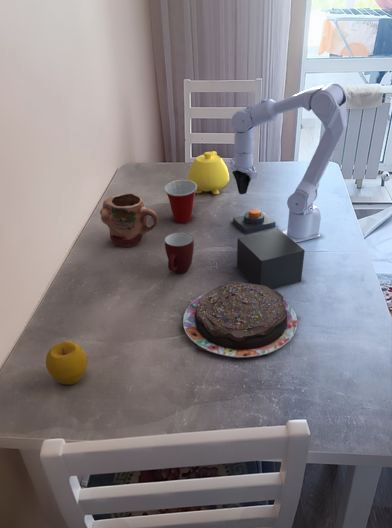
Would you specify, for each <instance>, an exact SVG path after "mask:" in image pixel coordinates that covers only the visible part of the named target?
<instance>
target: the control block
mask: <svg viewBox="0 0 392 528" xmlns="http://www.w3.org/2000/svg"><path fill="white" fill-rule="evenodd" d="M232 223H233V224H234V225H235V226H236V227H237V228H238V229H240V230H241V231H242V232H243V233H244V234H249V233H255V232H259V231H263V230H267V229H271V228H276V224H277V223H276V221H275V220H274V219H272V218H271V217H270V216H269V215H267V214H266V213H265V212H263V211H260V217H257V218H252V217H249V210H248V211H246V212H245V213H244V215H240V216H235V217H232Z"/></svg>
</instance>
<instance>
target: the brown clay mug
mask: <svg viewBox="0 0 392 528" xmlns="http://www.w3.org/2000/svg"><path fill="white" fill-rule="evenodd" d="M102 202H103V203H102V208H101V209H100V210H99V214H100V220H101V222H102V223H103V224H104V225H105V226H107V227H108V230H109V239H110V241H111V243H112V244H113V245H115V246H116V247H119V248H132V247H134V246H136V245H138V244H140V242H141V241H142V239H143V236H144V235H146V234H147V233H150V232H151V231H152V230H153V229H155V228H156V227H158V223H159V217H158V215H157V213H156V212H155V211H154V210H152V209H151V208H147V207H146V206H145V203H144V202H145V201H144V200H143V199H142V198H141V196H139V195H136V194H134V193H124V194H122V193H121V194H118V195H113V196H109V197H108V198H106V199H104V201H102ZM149 217H150V218H152V220H153V224H152V225H151V226H148V225H147V221H148V219H149Z"/></svg>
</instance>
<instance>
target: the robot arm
mask: <svg viewBox="0 0 392 528" xmlns="http://www.w3.org/2000/svg"><path fill="white" fill-rule="evenodd" d="M347 103H348V96H347V93H346V92H345V90H344V88H343V86H342V85H340V84H338V83H335V82H332V83H328V84H327V85H319V86H316V87H311V88H309V89H306V90H303V91H300V92H298V93H297V94H294V95H291V96H288V97H286V98H283V99H281V100H278V101H275V100H273V99H271V98H269V99H268V98H263V99H261V100H260V102H259V103H256V104H253V105H252V104H248V105H246V107H244V108H242V109H240V110H238V111H236V112H235V113H234V114H233V115H232V117H231V120H230V121H231V126H232V128H233V129H234V139H233V140H234V141H233V142H234V144H233V146H234V147H233V148H234V149H233V157H230V159H229V162H230V163H229V164H230V165H231V166H230V170H232V175H233V177H234V179H235V183H236V187H237V191H238V194H239V195H245V194H247V192H248V188H249V186H250V182H251V180H255V179H257V178H258V171H256V169H255V166H254V164H253V161H254V137H255V127H259V126H262V125H265V124H268V123H272V122H274V121H276V120H277V119H278V117H279V115H280V114H284V113H286V112H290V111H294V110H296V109H300V108H303V109H304V110H306V111H307V112H310V111H312V112H313V114H314V115H315V116H316V117H317V118H318V120H319V121H320V122H321V123H322V125H323V127H324V129H325V130H324V132H323V134H322V136H321V138H320V140H319V142H318V145H317V147H316V149H315V151H314V153H313V155H312V157H311V160H310V161H309V164H308V166H307V168H306V170H305V173H304V174H303V177H302V179H301V180H300V181H299V184H298V185H297V186H296V188H295V190H294V192H293V193H292V194H291V195H289V196H288V198H287V202H286V205H287V208H288V220H287V228H286V229H285V230H284V229H283V230H281V231H282V232H283V233H284V234H285V235H287V236H288V237H289V238H290V239H292V240H293V241H294V242H295V243H296V244H298V243H301V242H305V241H308V240H313V239H316V238H320V237H321V235H320V228H321V227H320V226H321V219H322V215H321V211H320V208H319V207H318V206H316V205H314V204H313V203H314V202H315V201H316V199H317V198H318V189H319V187H320V181H321V180H322V177H323V175H324V174H325V172H326V170H327V168H328V166H329V164H330V162H331V160H332V157H333V156H334V154H335V151H336V150H337V148H338V146H339V143H340V142H341V140H342V138H343V136H344V134H345V132H346V130H347V127H348V114H347V111H348V110H347Z"/></svg>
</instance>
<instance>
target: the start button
mask: <svg viewBox="0 0 392 528" xmlns="http://www.w3.org/2000/svg"><path fill="white" fill-rule="evenodd" d="M248 211H249V217H252V218H257V217H260V212H261V209H259V208H250V209H248Z"/></svg>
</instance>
